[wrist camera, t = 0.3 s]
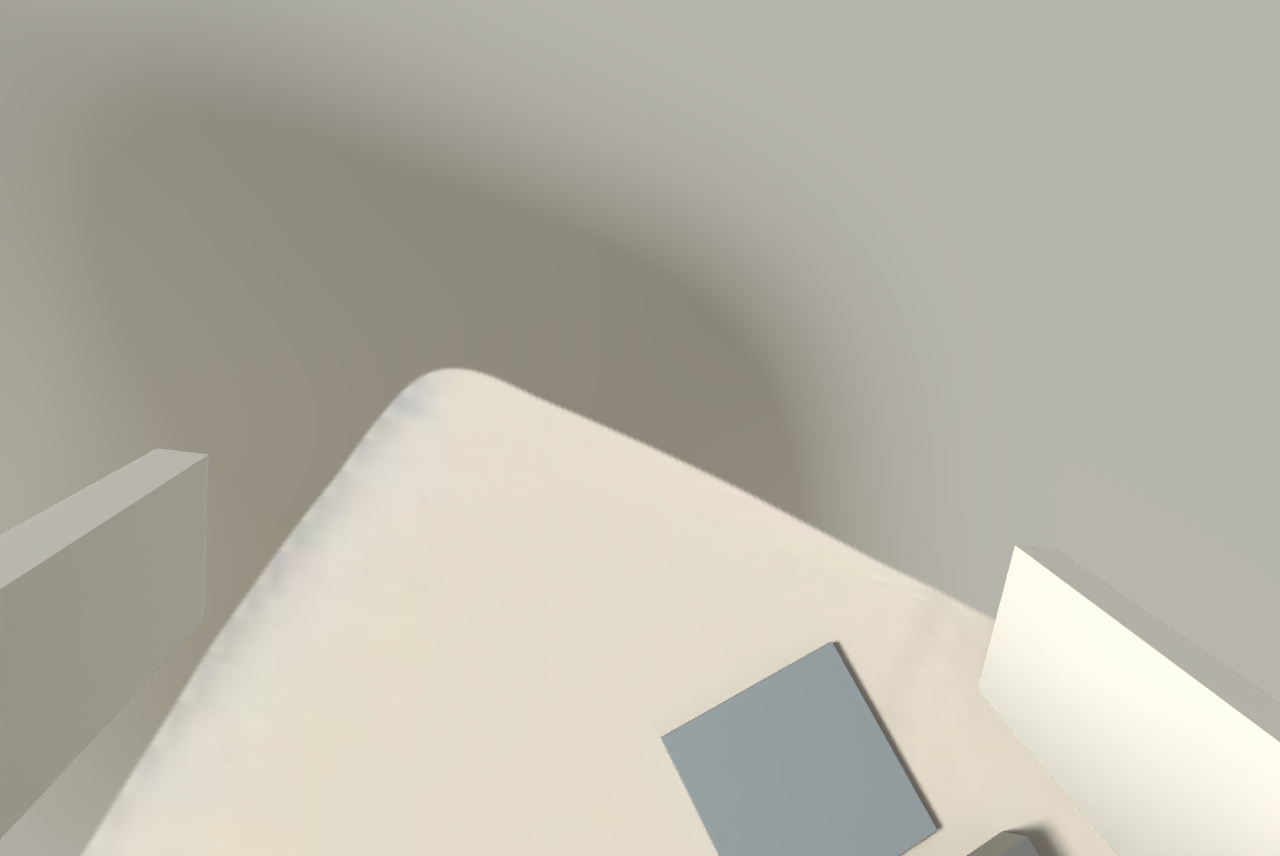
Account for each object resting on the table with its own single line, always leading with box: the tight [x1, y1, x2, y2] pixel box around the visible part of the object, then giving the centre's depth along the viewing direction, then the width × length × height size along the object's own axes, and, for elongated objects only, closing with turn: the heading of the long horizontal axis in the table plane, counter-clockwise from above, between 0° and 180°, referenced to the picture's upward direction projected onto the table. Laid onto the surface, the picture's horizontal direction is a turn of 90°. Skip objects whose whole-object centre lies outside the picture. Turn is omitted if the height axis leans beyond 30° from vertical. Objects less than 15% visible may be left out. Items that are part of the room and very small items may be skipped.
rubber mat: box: [661, 642, 937, 856], centre depth 46 cm, size 11×11×1 cm
